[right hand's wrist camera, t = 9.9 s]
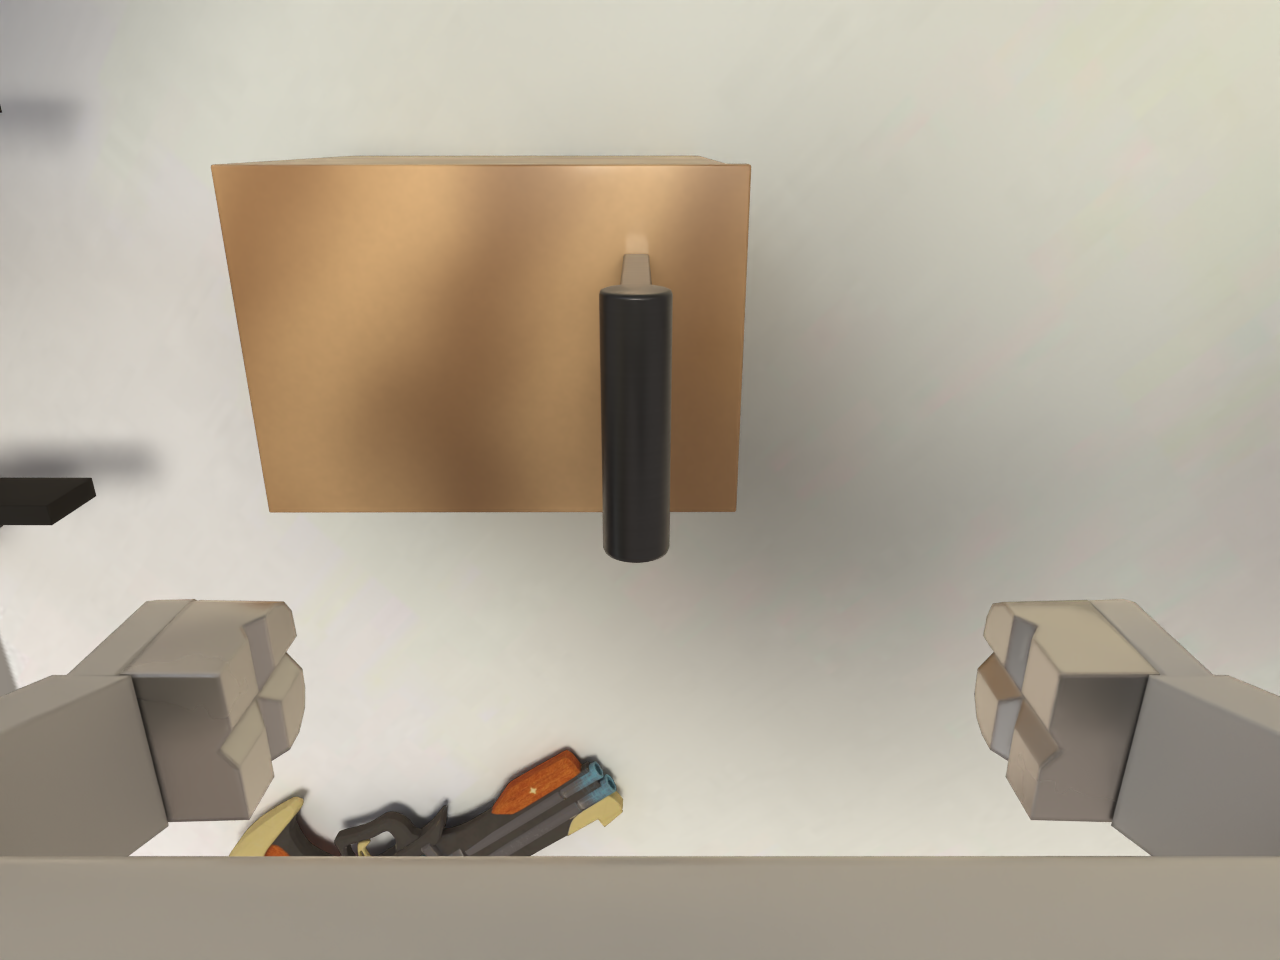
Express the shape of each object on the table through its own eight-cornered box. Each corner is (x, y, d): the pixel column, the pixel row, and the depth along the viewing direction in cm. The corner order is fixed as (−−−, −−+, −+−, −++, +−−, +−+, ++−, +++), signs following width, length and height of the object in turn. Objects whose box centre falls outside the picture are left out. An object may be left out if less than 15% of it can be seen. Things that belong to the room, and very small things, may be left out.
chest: (700, 155, 34) (727, 163, 24) (694, 401, 38) (715, 501, 27) (350, 155, 34) (223, 163, 24) (378, 401, 38) (279, 502, 27)
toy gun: (206, 864, 44) (331, 1001, 46) (510, 669, 41) (630, 823, 43) (231, 830, 46) (348, 961, 48) (518, 645, 44) (631, 791, 46)
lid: (747, 163, 24) (802, 176, 16) (733, 502, 27) (772, 650, 19) (223, 163, 24) (16, 176, 16) (279, 502, 27) (133, 650, 19)
